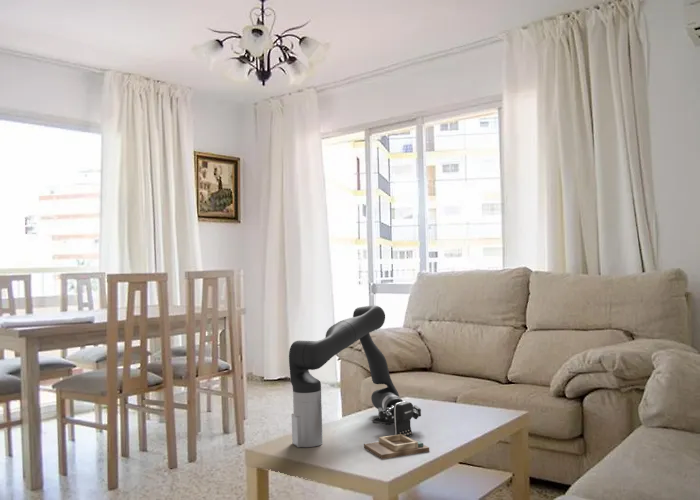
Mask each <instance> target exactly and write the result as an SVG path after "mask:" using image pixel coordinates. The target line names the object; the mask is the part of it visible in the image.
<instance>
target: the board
mask: <svg viewBox="0 0 700 500" xmlns="http://www.w3.org/2000/svg"><path fill="white" fill-rule="evenodd" d="M363 449H365V450H367V451H368V452H370V453H371V454H373V455H375V456H376V457H378V458H380V459H381V460H384V459H390V458H396V457H402V456H409V455H415V454H421V453H427V452H430V447H429V446H428V445H425V444H424V442H422V441H419V440H418V441H417V440H415V439H413V438H411V437H407V436H405V435H403V434H398V435H394V434H393V435H392V434H391V435H386V436H379V437H378V441H375V442H369V443H364V444H363Z"/></svg>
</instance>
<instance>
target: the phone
mask: <svg viewBox="0 0 700 500" xmlns="http://www.w3.org/2000/svg"><path fill="white" fill-rule="evenodd" d="M371 422H372V423H373V424H379V425H385V426H387V425H388V426H389V425H394V420H393V419H392V421H390V420H388V419H386V417H384V418H383V419H380V417H379V416H378V417H377V418H374V419H372V420H371Z"/></svg>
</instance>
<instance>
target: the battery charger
mask: <svg viewBox="0 0 700 500" xmlns="http://www.w3.org/2000/svg"><path fill="white" fill-rule="evenodd" d="M413 406H414V404H413V403H412V402H409V401H406V400H403V402H399V403H396V404H395V405H394V408H393V416H394V423H393V427H394V429H393V431H394V433H393V435H398V434H403V435H405V436H407V437H409V438H411V437H412V436H413V431H412V428H411V427H412V426H411V419H412V418H413V417H414V411H413ZM413 419H414V418H413Z"/></svg>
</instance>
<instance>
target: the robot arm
mask: <svg viewBox="0 0 700 500" xmlns="http://www.w3.org/2000/svg"><path fill="white" fill-rule="evenodd" d="M385 320H386V314H385V311H384V309H383V308H382V307H381V306H379V305H374V304H373V305H367V306H360V307H357V308H355V309H354V311H353V313H352V317H349V318H345V319H343V320H340V321H338V322H336V323H334V324H332V325H331V326H330V327H329V328H328V329H327V330H326V332H325V337H324V338H323V339H320V340H295V341H294V342H292V344H291V346H290V348H289V351H288V367H289V378H290V383H291V387H292V409H293V413H291V440H292V441H291V442H292V444H293V445H294V446H295V447H296V448H311V447H312V448H313V447H318V446H321V445H322V444H323V442H324V441H323V440H324V439H323V438H324V437H323V411H322V410H323V409H322V408H323V407H322V406H323V405H322V383H321V381H320V380H319V378H316V377H315V376H313V375H312V374H311V373H310V371H315V370H319V369H320V368H322V367H323V366H324V365H326V364H327V363H328V362H329V361H330V360H331V359H332V358H333V357H335V356H336V355H338V354H340V353H341V352H342V351H343V350H346V349H347V348H348V347H350V346H352V345H353V344H354V343H356V342H357V341H360V344H361V346H362V349H363V351H364V353H365V357H366V360H367V364H368V367H369V372H370V377H371V381H372V383H373V384H375V385H386V387H385V388H380V389H376V390H374V391H373V392H372V394H371V397H370V398H371V403H372V405H373V406H374V407H375V409H377V411H378V418H379V417H380V419H383V418H384V417H386V419H388V420H390V421H392V419H393V420H394V416H393V408H394V405H395V404H396V403H399V402H403V401H404V400H403V399H402V398H401V397H400V395H399V391H398V390H397V388H396V387H395V384H394V382H393V380H392V379H391V375H390V371H389V366H388V362H387V359H386V357H385V355H384V354H383V352H382V351H381V350H380V349H379V347H378V346H377V345H376V343H375V342H374V341H373V339H372V336H371V335H370V333H372V332H374V331H377V330H379V329H381V328H382V326H384V324H385V322H386V321H385ZM413 411H414V417H413V419H414V420H418V418H419V417H422V409H421V407H419V406H417V405H414V404H413Z"/></svg>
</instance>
